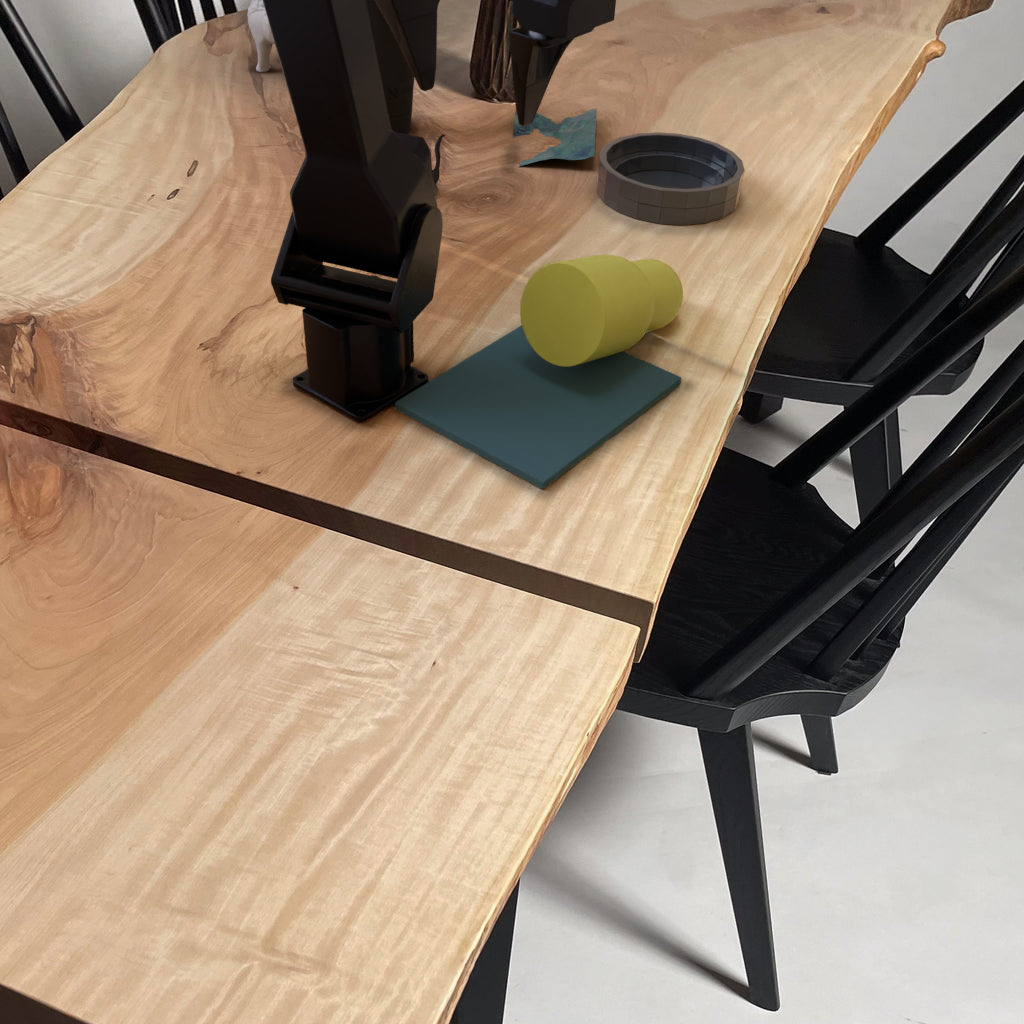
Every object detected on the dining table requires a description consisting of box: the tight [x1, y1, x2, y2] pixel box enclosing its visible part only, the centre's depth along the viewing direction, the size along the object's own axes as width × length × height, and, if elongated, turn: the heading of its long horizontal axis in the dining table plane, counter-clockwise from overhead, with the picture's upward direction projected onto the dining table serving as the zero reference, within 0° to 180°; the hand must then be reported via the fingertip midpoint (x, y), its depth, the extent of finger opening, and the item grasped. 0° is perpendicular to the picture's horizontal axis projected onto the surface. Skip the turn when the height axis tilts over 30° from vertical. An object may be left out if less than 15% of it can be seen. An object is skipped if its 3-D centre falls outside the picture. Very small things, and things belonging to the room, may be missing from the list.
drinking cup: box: [366, 0, 415, 134], centre depth 98 cm, size 8×8×20 cm
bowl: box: [596, 131, 746, 226], centre depth 94 cm, size 12×12×4 cm
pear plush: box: [519, 254, 684, 367], centre depth 75 cm, size 7×7×14 cm
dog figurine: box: [246, 0, 275, 73], centre depth 112 cm, size 5×13×11 cm, turn 51°
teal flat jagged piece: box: [512, 108, 598, 168], centre depth 102 cm, size 13×8×2 cm, turn 176°
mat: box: [394, 324, 682, 490], centre depth 72 cm, size 15×12×1 cm
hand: (475, 106), depth 78 cm, fingers open, 9 cm apart
